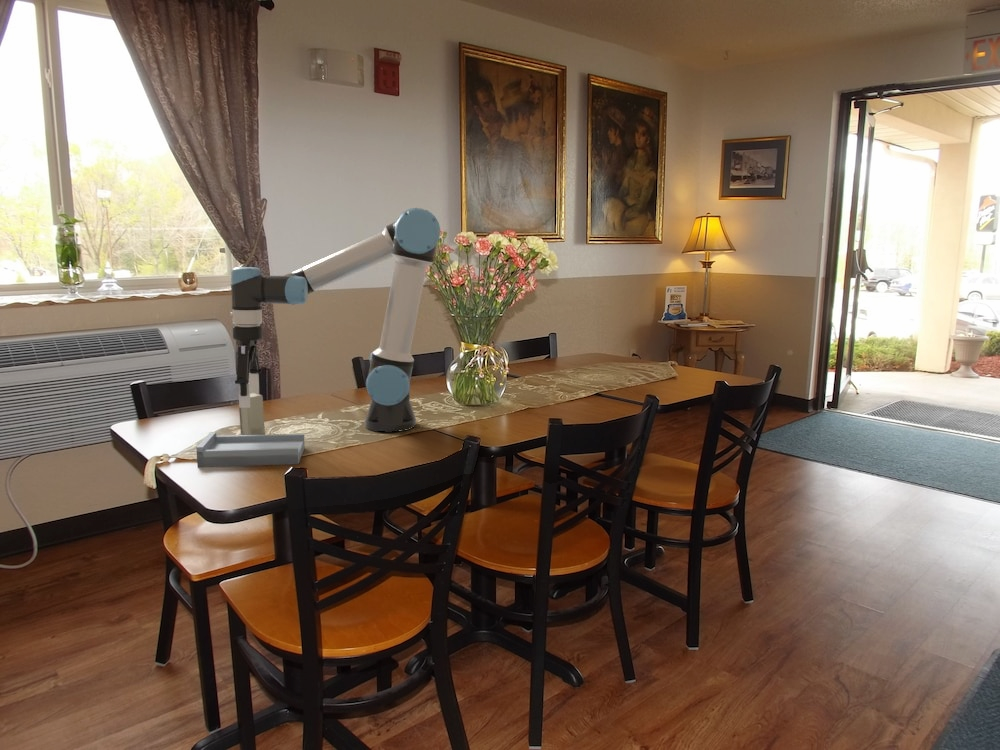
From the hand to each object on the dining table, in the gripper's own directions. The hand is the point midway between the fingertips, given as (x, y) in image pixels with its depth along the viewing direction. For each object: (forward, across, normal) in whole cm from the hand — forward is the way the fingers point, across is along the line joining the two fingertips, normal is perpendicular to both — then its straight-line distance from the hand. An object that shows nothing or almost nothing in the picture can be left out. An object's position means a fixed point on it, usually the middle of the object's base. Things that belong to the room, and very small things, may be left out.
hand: (249, 401), depth 197 cm
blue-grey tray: (+11, +16, +4) cm, 20 cm away
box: (+11, 0, +1) cm, 11 cm away
